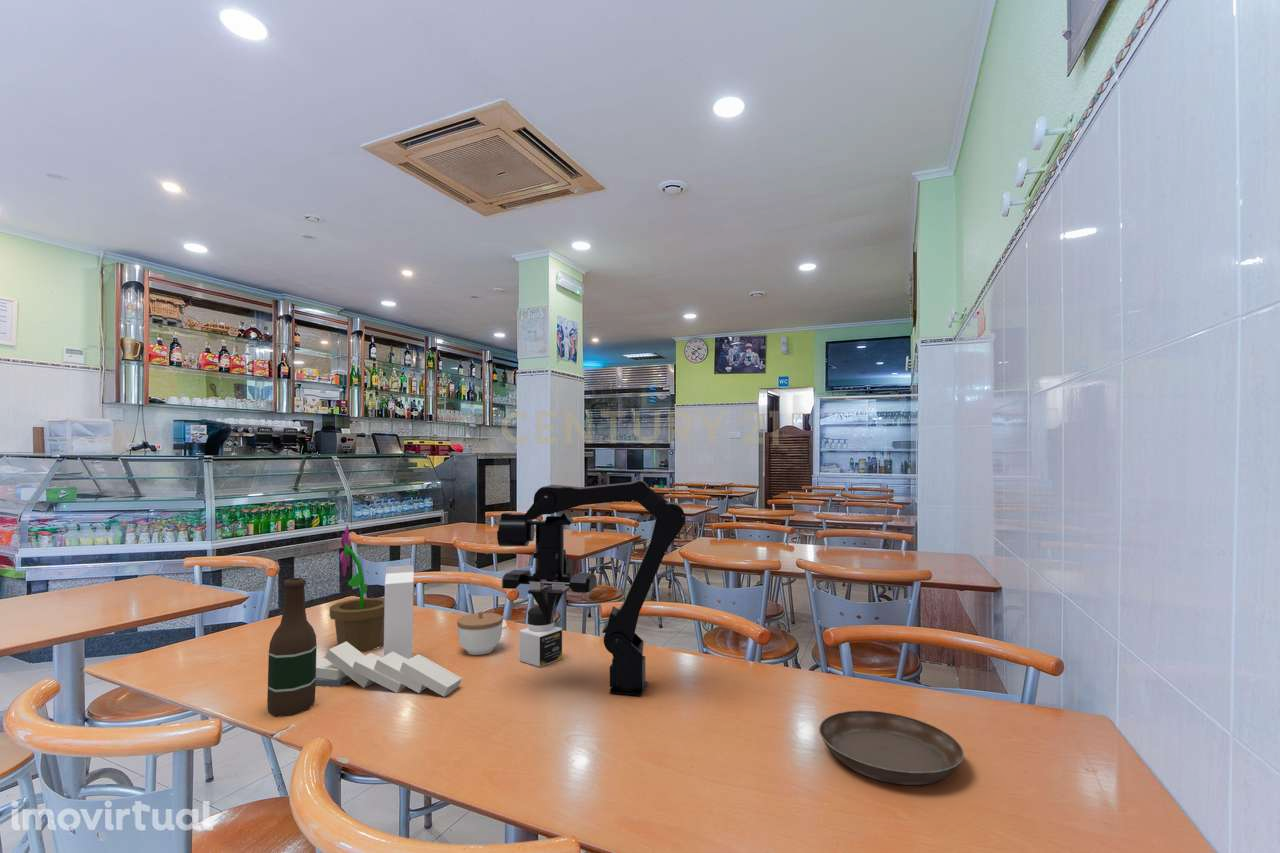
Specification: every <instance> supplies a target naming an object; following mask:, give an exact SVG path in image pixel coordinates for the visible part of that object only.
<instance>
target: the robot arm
mask: <svg viewBox="0 0 1280 853" xmlns="http://www.w3.org/2000/svg"><path fill="white" fill-rule="evenodd" d="M627 501H629V502H630V501H636V502H637V503H638V504H640V505H641V506H642V507H643V508H644V509H645V510H646V511H647V512H649V513H650V514H651V515H652V516H653V517H655V521H654V524H653V529H652V534H651V539H650V541H649V544H648V546H647V548H646V550H645V553H644V555H643V557H642V560H641V561H640V564H639V567H638V569H637V570H636V573H635V576H634V578H633V580H632V583H631V585H630V587H629V590H628V591H627V594H626V597H625V599H624V601H623V602H622V604H621V605H620V607H619V608H617V606H616V607H615V606H614V605H613V606H612V608H611V611H610V614H609V618H608V619H607V620H606V621H605V622H604V626H603V628H602V634H604V636H603V645H604V648H605V649H606V650H607V651H608V652H609V653H610V654H611V655H612V657H613V658H612V661H611V662H612V663H611V664H610V665H609V687H610V689H609V694H615V695H626V696H627V695H628V696H635V697H637V696H639V697H640V696H643V693H644V691H645V690H646V688H647V686H648V681H646V656H645V655H644V640H643V639H642V638H641V637H640V636H639V635H638V634H637V633H636V628H637V625H638V619H639V616H640V612H641V610H642V607H643V605H644V603H645V601H646V599H647V595H648V593H649V591H650V589H651V587H652V585H653V582H654V580H655V577H656V575H657V572H658V571H659V568H660V565H661V563H662V561H663V559H664V556H665V555H666V552H667V550H668V549H669V547H670V546H671V545H672V543H673V542H674V541H675V539H676V538H677V536H678V535H679V533H680V532H681V530H682V529H683V527H684V525H685V522H686V514H685V512H684V510H683V508H682V506H681V505H680V504H679V503H678V502H676V501H675V502H674V501H668V500H666V499H665V498H664V496H661V495H660V494H659V493H658V492H656V491H655V490H654V489H652V488H651V487H650V486H649V485H648V484H647V482H645V481H644V480H640V479H639V480H635V481H630V482H629V481H628V482H619V483H610V484H598V485H590V486H572V485H558V484H549V485H545V486H541V487H540V488H538V489H537V490H536V492H535V493H534V496H533V503H532V504H531V506H530V507H529V509H528V510H527V511H526V513H512V512H503V513H501V514H500V521H499V524H498V530H497V531H496V538H497V544H498V545H499V547H528V546H529V543H530V542H533V541H534V540H535V552H533V554H532V558H533V559H535V572H534V573H531V571H530V570H527V569H526V570H525V569H524V570H523V569H513V570H511V571H509V572H506V573H504V575H502V579H501V588H502V589H507V590H508V589H510V590H516V589H517V588H518V587H519V586H520V585H529V590H527V594H529V595H532V596H533V599H534V600H535V602H536V604H537V606H539V608H540V610H541V612H542V614H543V617H544V619H545V621H546V623H547V624H551V623H552V621H553V618H554V619H555V614H556V612H557V609H558V605H559V603H560V601H561V599H562V596H563V595H564V594H565V593H567V592H569V591H570V590H571V591H572V592H573V593H590V592H591V591H593V589H595V588H597V587H598V586H597V583H598V582H597V580H598V579H597V576H596V575H595V573H593V572H576V573H575V574H573V575H572V572H573V566H574V565H573V564H574V560H573V559H571V558H569V557H567V552H566V549H564V543H565V541H564V540H565V539H564V538H565V537H564V535H565V533H564V528H565V527H564V526H570V525H572V524H573V523H574V519H573V518H571V517H570V516H569V514H568V513H567V512H566V510H567V511H568V510H569V509H572V508H575V507H579V506H587V505H599V504H608V503H619V502H627ZM563 511H565V512H563ZM559 512H563V513H562V514H561V515H556V516H555V515H554V516H553V515H552V514H556V513H559ZM543 515H547V516H546V518H545V520H535V519H538V518H540V517H541V516H543ZM534 538H535V539H534Z"/></svg>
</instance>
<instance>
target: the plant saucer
mask: <svg viewBox="0 0 1280 853" xmlns="http://www.w3.org/2000/svg"><path fill="white" fill-rule="evenodd" d="M819 724H820V725H819V726H818V728H819V730H818V731H819V735H820V738H821V739H822V741H823V742H824V744H825V746H826V747H827V748H828V750H829V751H830V752H831V753H832V754H833V756H835V757H836V758H837V760H838V761H839V762H841V763H842V764H844V765H845V766H847V767H848V768H850V769H851V770H852V771H855V772H856V773H858V774H860V775H863V776H865V777H868V778H871V779H875V780H877V781H880V782H884V783H890V784H896V785H904V786H905V785H907V786H920V785H928V784H933V783H935V782H936V783H937V782H939V781H940V780H941V781H942V780H943V779H944V778H947V777H948V776H949V775H950V774H952V773H953V772H955V771H956V770H957V769H958V768H959V766H960V765H961V763H962V761H963V760H964V755H965V753H964V750H963V747H962V746H961V745H960V743H959V742H958V741H957V740H956V739H955V738H954V737H953V736H951V735H950V734H948V733H947V732H945V731H943V730H942V729H940V728H938V727H937V726H934V725H931V724H929V723H927V722H925V721H922V720H919V719H916V718H913V717H909V716H905V715H902V714H901V715H900V714H896V713H891V712H885V711H876V710H850V711H848V710H847V711H841V712H838V713H834V714H831V715H829V716H827V717H826V718H824V719H823V720H822V721H821V723H819Z"/></svg>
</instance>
